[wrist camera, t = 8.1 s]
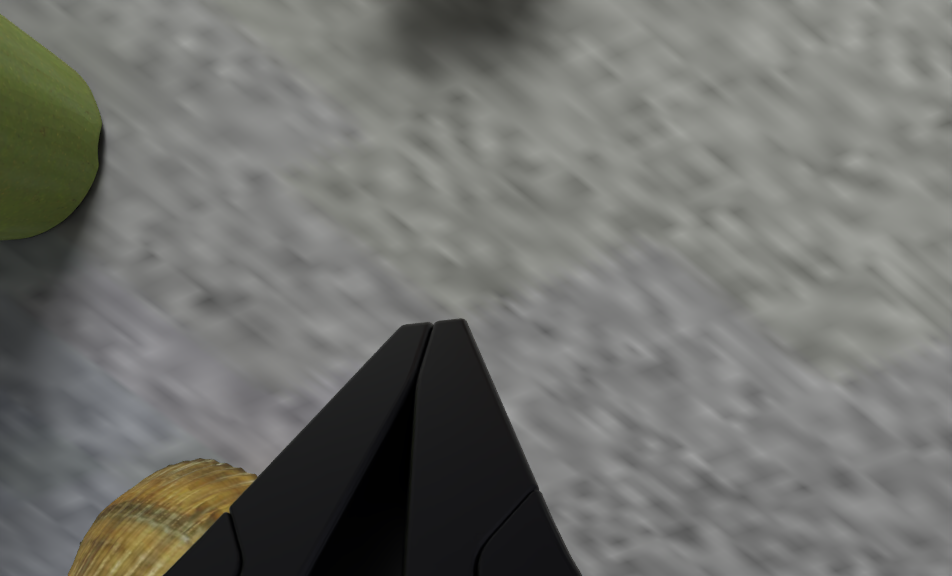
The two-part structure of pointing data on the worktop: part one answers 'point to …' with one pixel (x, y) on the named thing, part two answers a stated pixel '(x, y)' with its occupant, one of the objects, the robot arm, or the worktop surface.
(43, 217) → the plant pot
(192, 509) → the seashell
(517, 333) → the worktop surface
